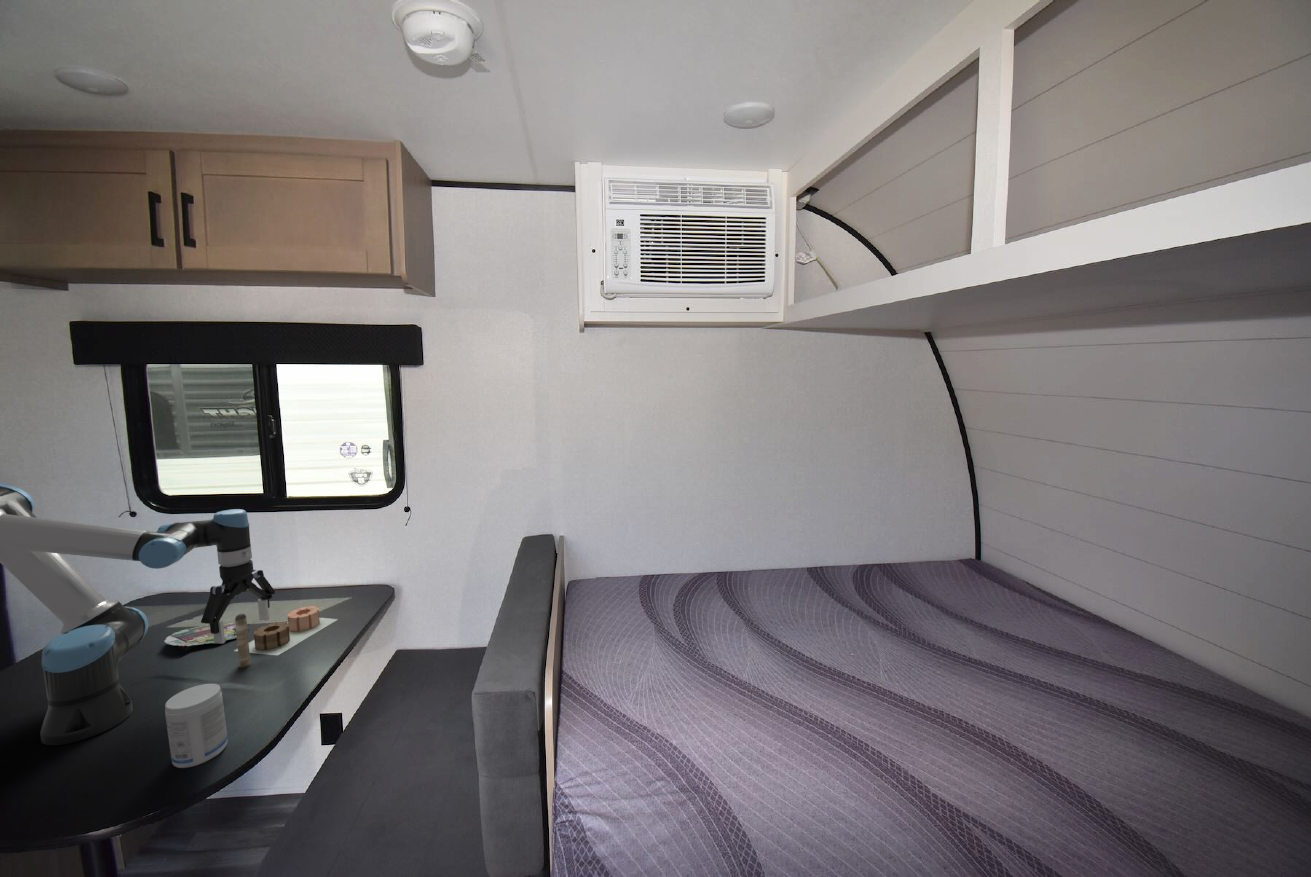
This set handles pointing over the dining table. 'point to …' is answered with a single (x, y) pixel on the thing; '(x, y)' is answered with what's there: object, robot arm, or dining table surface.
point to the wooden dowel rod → (242, 640)
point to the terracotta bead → (303, 618)
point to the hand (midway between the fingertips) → (243, 630)
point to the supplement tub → (196, 725)
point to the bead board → (292, 638)
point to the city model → (199, 636)
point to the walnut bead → (271, 636)
